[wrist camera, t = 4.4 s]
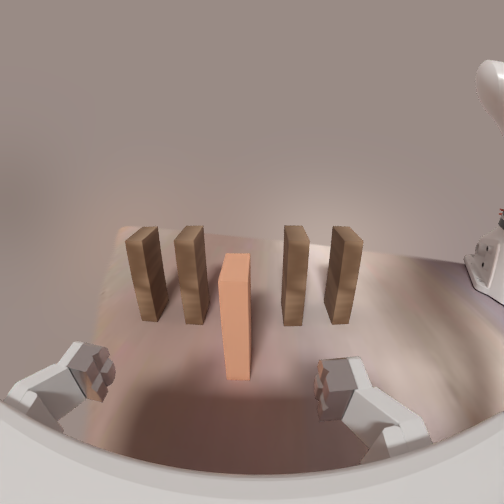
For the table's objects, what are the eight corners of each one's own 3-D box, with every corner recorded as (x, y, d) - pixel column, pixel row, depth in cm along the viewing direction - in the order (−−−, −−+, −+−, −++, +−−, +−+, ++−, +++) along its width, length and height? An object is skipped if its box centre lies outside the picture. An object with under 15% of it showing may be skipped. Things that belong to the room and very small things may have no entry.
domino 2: (209, 302, 34) (203, 225, 30) (202, 324, 29) (193, 240, 26) (194, 301, 34) (186, 226, 30) (185, 323, 29) (173, 240, 26)
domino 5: (338, 301, 33) (349, 226, 30) (348, 323, 29) (363, 241, 25) (323, 302, 33) (332, 226, 30) (331, 324, 29) (344, 240, 25)
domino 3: (251, 345, 26) (250, 253, 23) (249, 380, 22) (247, 281, 18) (231, 344, 26) (226, 253, 23) (227, 379, 22) (218, 281, 18)
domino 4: (296, 302, 34) (302, 225, 30) (301, 325, 29) (309, 240, 25) (281, 302, 34) (284, 225, 30) (283, 326, 29) (288, 240, 25)
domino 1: (168, 300, 34) (157, 226, 30) (157, 321, 30) (141, 240, 26) (154, 299, 34) (142, 227, 30) (142, 320, 30) (125, 241, 26)
